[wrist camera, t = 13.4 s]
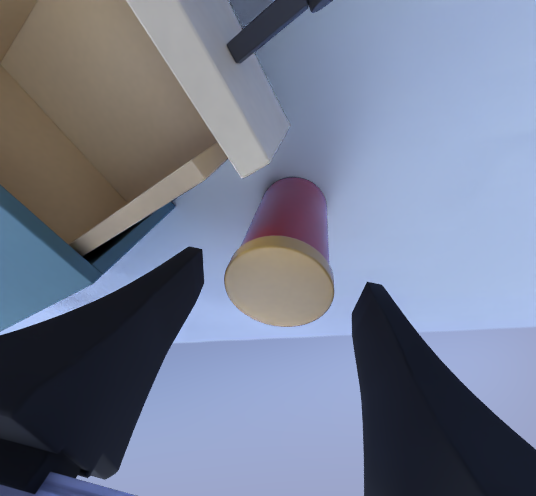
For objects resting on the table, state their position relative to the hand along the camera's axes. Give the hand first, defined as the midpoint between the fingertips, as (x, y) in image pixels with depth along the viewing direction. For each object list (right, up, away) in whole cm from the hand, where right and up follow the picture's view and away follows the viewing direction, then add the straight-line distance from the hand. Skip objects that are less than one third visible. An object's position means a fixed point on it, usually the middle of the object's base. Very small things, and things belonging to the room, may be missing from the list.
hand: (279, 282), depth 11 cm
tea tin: (+1, +4, +6) cm, 7 cm away
